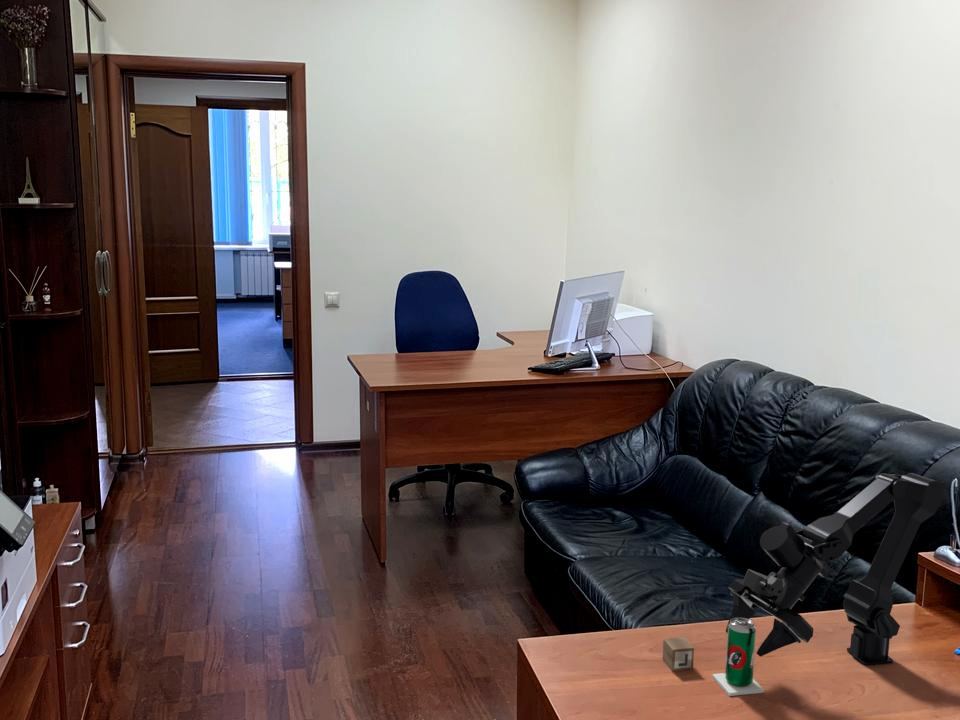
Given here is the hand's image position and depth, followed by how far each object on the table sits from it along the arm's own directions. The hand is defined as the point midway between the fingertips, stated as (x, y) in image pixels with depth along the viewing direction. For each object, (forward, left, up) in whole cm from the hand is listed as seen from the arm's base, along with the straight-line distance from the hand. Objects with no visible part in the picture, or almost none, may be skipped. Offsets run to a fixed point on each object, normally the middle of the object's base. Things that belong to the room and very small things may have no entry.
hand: (742, 643), depth 166 cm
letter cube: (+9, -9, -8) cm, 15 cm away
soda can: (0, 0, -8) cm, 8 cm away
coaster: (+1, 0, -8) cm, 8 cm away
